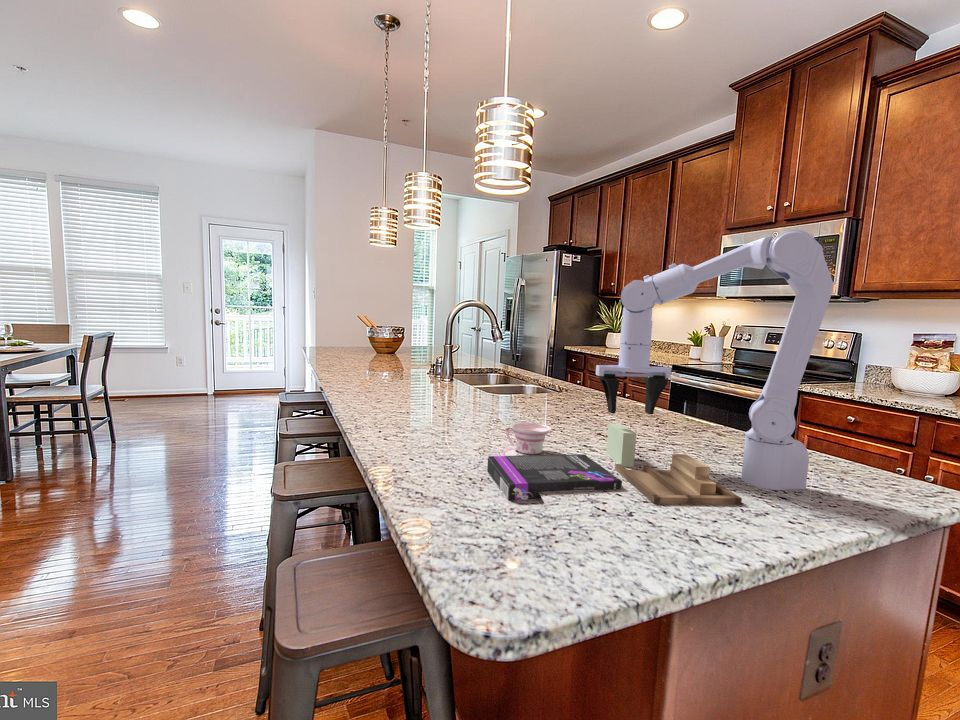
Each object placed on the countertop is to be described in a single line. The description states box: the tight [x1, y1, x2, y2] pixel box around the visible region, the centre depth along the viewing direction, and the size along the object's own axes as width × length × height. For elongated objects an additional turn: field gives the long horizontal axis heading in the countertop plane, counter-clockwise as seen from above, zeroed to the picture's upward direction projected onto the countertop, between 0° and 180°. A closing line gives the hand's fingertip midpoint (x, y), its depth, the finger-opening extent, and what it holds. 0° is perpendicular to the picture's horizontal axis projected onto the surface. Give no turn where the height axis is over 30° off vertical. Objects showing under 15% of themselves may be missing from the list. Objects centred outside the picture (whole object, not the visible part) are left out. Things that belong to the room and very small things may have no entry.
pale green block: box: [606, 422, 637, 468], centre depth 94 cm, size 2×8×7 cm, turn 5°
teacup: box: [498, 422, 552, 456], centre depth 97 cm, size 12×12×6 cm
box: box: [486, 454, 623, 501], centre depth 82 cm, size 14×4×20 cm
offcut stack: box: [669, 453, 717, 496], centre depth 81 cm, size 3×10×4 cm, turn 5°
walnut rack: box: [614, 463, 743, 506], centre depth 81 cm, size 14×16×2 cm
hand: (630, 413), depth 94 cm, fingers open, 7 cm apart
